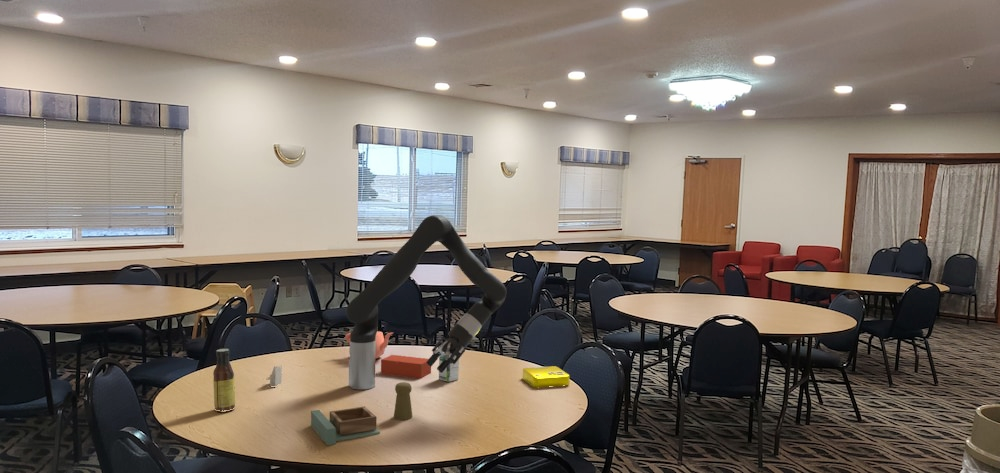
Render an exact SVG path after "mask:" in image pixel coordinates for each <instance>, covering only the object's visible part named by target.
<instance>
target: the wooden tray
mask: <svg viewBox="0 0 1000 473" xmlns="http://www.w3.org/2000/svg"><path fill="white" fill-rule="evenodd" d="M377 418H378V417H377V416H376V415H375V414H374V413H373V412H372V411H370V410H369V409H368V408H367V407H366V406H359V407H357V406H356V407H351V408H345V409H337V410H331V411H329V421H330V422H331V424H332V425H333V426H334V427H335V428H336V432H337V433H338V434H339V435H340V436H341V435H346V434H352V433H358V432H364V431H370V430H376V429H377Z"/></svg>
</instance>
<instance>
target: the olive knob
mask: <svg viewBox="0 0 1000 473" xmlns="http://www.w3.org/2000/svg"><path fill="white" fill-rule="evenodd" d="M412 388H413V387H412V385H411V383H409V382H406V381H405V382H402V381H401V382H398V383H396V385H395V387H394V390H395V393H396V396H395V398H396V399H395V404H394V411H393V419H394V420H396V421H397V420H398V421H408V420H410V419H412V418H413V408H412V402H411V400H412V399H411V392H412V391H413V390H412Z"/></svg>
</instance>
